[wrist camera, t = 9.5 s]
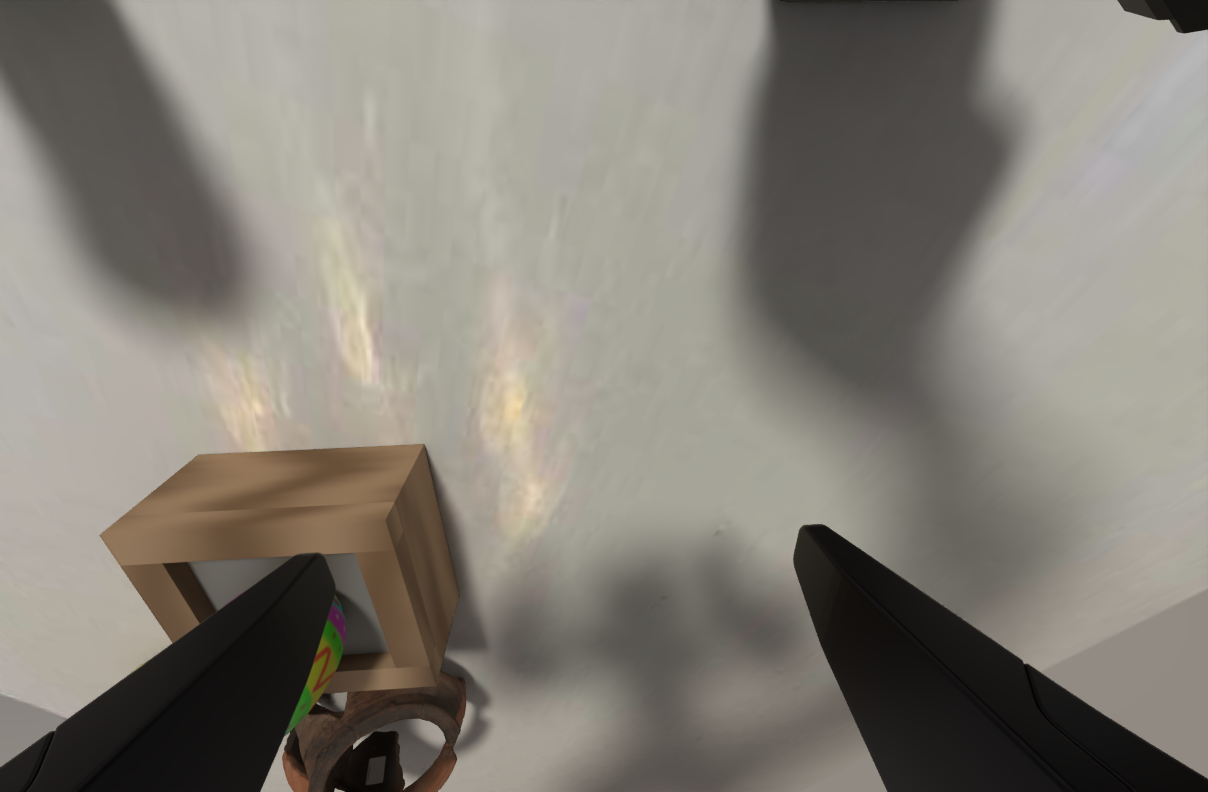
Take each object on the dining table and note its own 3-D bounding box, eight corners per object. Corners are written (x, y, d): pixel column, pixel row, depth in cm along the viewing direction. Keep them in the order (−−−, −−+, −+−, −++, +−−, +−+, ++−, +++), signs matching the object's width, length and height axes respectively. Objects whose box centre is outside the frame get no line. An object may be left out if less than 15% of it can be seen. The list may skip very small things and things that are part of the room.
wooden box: (423, 444, 22) (385, 520, 17) (459, 595, 26) (436, 685, 22) (198, 454, 21) (99, 535, 17) (274, 606, 26) (212, 700, 21)
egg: (256, 641, 21) (148, 808, 16) (220, 561, 19) (81, 723, 13) (370, 639, 21) (303, 802, 16) (349, 560, 19) (262, 718, 14)
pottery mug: (277, 629, 28) (266, 745, 21) (444, 582, 32) (480, 664, 25) (300, 793, 30) (296, 944, 23) (451, 727, 35) (486, 837, 28)
